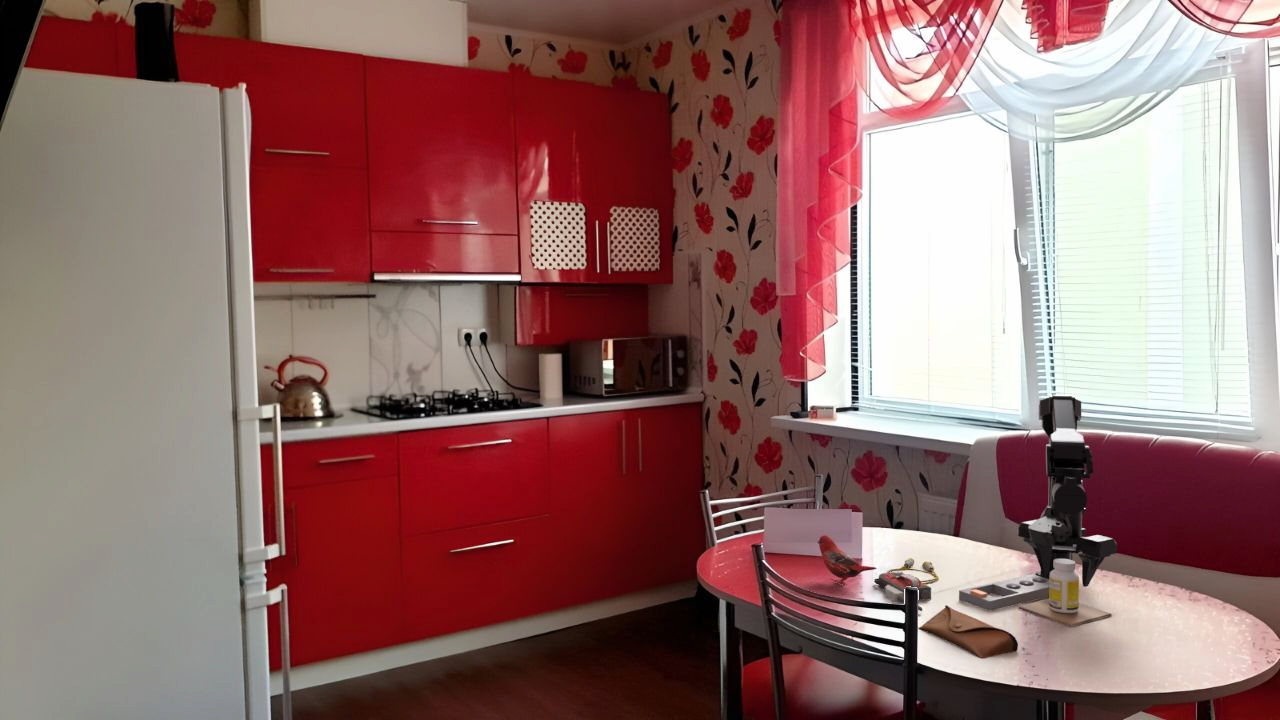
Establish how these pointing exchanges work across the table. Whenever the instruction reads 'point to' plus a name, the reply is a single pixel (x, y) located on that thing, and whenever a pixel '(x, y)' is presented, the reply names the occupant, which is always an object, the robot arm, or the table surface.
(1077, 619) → the walnut pad
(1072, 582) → the supplement bottle
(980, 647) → the sunglasses case
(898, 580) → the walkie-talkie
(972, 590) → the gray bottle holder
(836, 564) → the decorative bird figurine
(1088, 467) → the robot arm
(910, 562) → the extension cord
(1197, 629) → the table surface
